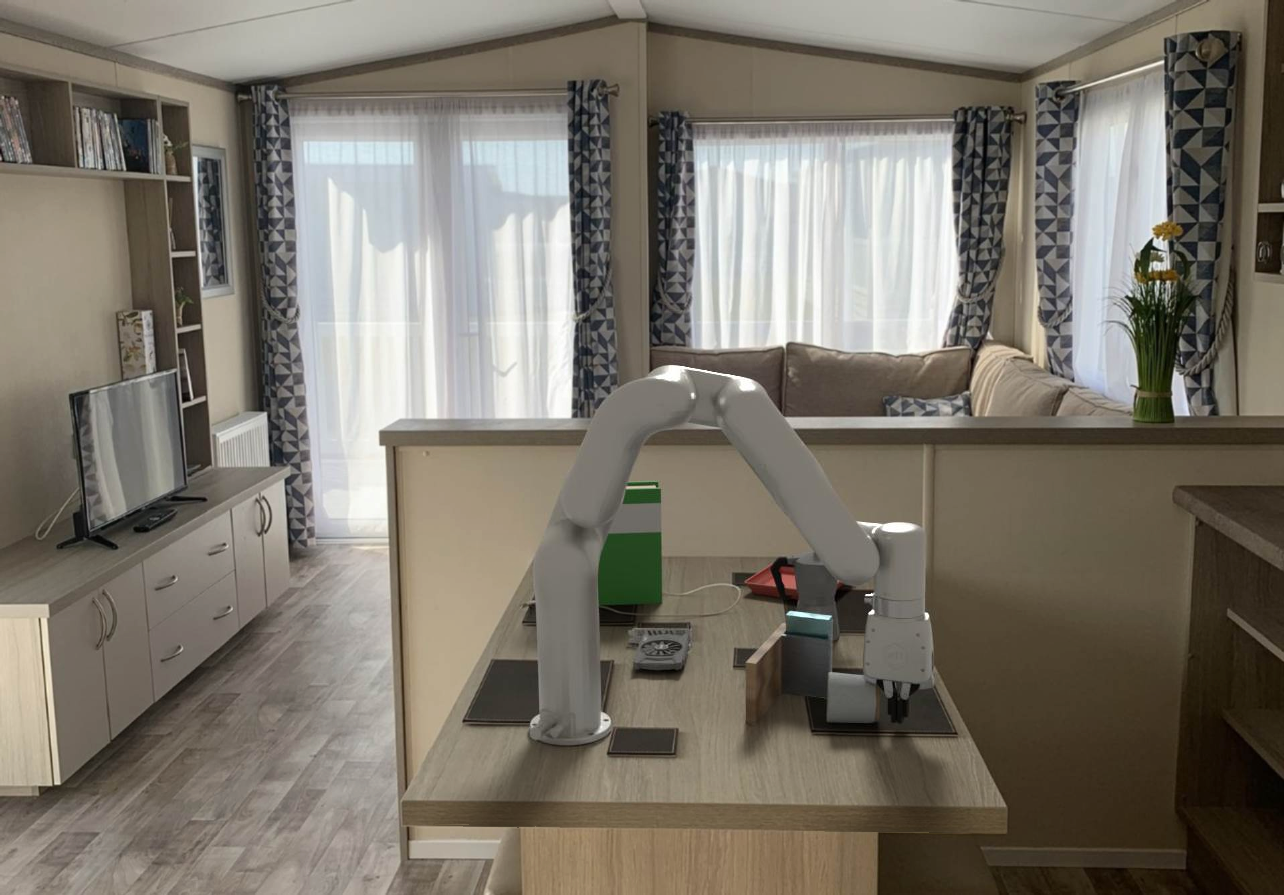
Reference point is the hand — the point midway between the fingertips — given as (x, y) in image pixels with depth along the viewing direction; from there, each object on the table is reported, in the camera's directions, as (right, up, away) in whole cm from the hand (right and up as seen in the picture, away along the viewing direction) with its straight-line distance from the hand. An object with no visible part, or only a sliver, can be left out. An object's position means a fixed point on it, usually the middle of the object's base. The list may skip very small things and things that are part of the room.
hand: (898, 719), depth 190 cm
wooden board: (-18, 0, +12) cm, 22 cm away
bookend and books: (-11, +1, +17) cm, 20 cm away
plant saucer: (-6, +11, +72) cm, 73 cm away
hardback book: (-44, +10, +67) cm, 81 cm away
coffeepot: (-8, +6, +43) cm, 44 cm away
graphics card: (-37, +3, +32) cm, 49 cm away
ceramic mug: (-6, -1, +5) cm, 8 cm away
